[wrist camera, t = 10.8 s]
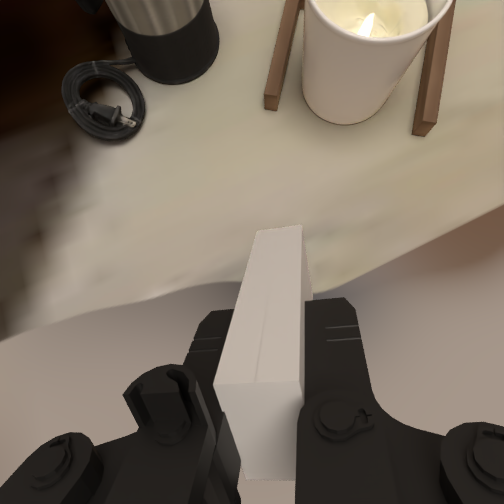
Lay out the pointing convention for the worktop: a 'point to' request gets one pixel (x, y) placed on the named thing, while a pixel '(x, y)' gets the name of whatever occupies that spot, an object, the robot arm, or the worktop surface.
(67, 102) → the milk frother
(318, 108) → the candle holder
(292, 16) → the walnut bay
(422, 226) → the worktop surface
